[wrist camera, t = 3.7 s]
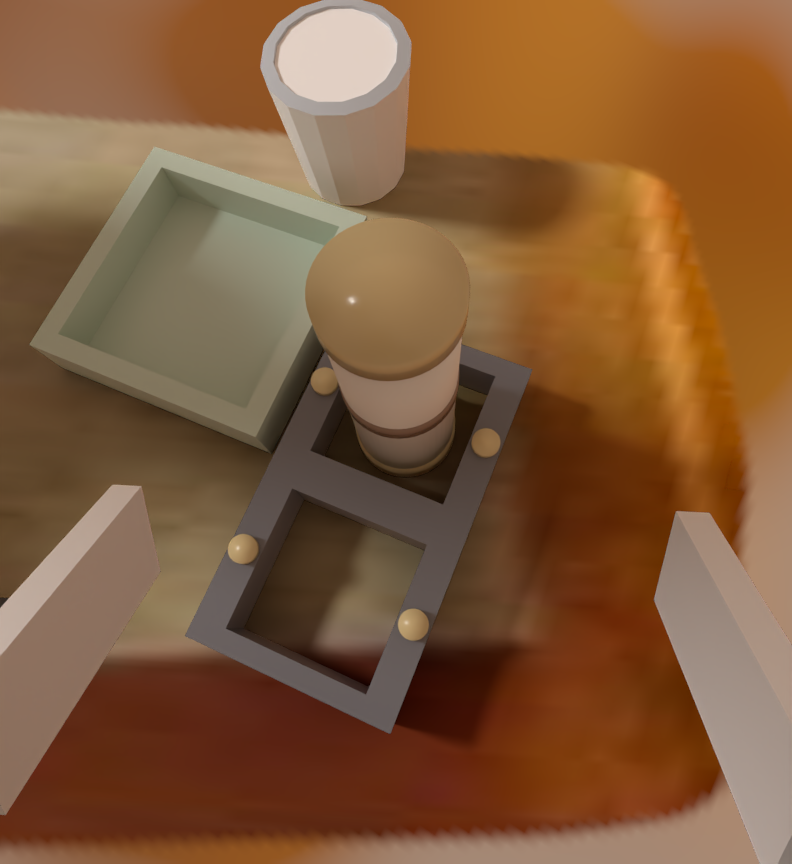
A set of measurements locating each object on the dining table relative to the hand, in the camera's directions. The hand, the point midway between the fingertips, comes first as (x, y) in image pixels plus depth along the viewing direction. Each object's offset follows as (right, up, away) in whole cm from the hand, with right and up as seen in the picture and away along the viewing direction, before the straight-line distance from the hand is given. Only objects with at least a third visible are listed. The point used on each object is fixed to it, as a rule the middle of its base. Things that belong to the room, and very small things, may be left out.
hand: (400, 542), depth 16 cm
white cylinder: (-2, +18, +19) cm, 26 cm away
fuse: (0, +3, +14) cm, 14 cm away
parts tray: (-9, +9, +17) cm, 21 cm away
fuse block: (-1, -1, +13) cm, 13 cm away
